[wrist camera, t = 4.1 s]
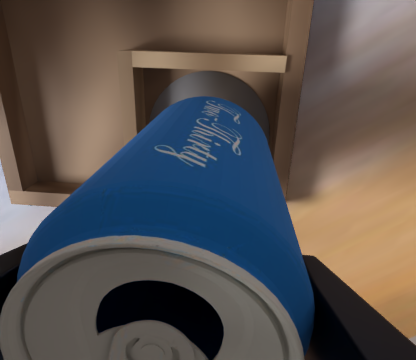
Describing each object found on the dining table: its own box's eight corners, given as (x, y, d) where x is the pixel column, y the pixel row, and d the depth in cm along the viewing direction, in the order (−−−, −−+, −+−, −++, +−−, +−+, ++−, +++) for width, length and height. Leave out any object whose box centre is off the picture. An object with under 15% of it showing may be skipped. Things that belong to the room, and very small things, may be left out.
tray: (33, 188, 23) (8, 205, 21) (-14, -36, 18) (-56, -49, 15) (277, 203, 22) (282, 224, 20) (308, -31, 17) (321, -44, 14)
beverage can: (286, 113, 15) (405, 283, 4) (247, 221, 18) (263, 497, 7) (158, 78, 15) (-41, 166, 4) (138, 193, 18) (-19, 429, 7)
